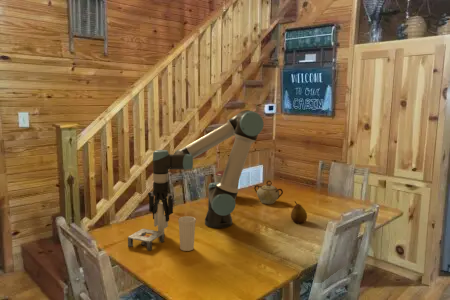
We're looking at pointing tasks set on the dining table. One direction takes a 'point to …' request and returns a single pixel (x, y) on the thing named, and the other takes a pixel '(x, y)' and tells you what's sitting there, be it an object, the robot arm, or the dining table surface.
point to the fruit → (298, 214)
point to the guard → (146, 238)
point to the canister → (219, 176)
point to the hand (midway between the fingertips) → (161, 226)
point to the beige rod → (160, 217)
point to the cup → (187, 232)
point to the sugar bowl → (268, 193)
